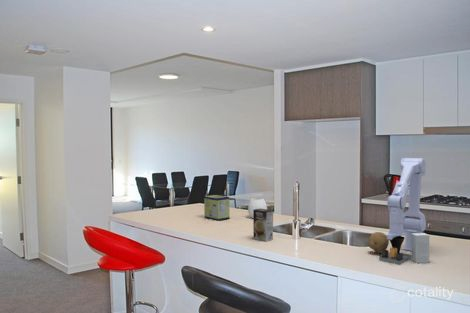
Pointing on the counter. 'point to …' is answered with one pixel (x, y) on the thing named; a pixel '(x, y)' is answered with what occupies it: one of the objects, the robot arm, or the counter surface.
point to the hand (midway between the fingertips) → (396, 253)
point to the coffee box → (263, 224)
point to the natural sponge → (378, 242)
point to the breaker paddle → (393, 252)
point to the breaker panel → (398, 259)
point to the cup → (256, 205)
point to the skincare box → (420, 247)
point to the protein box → (216, 207)
